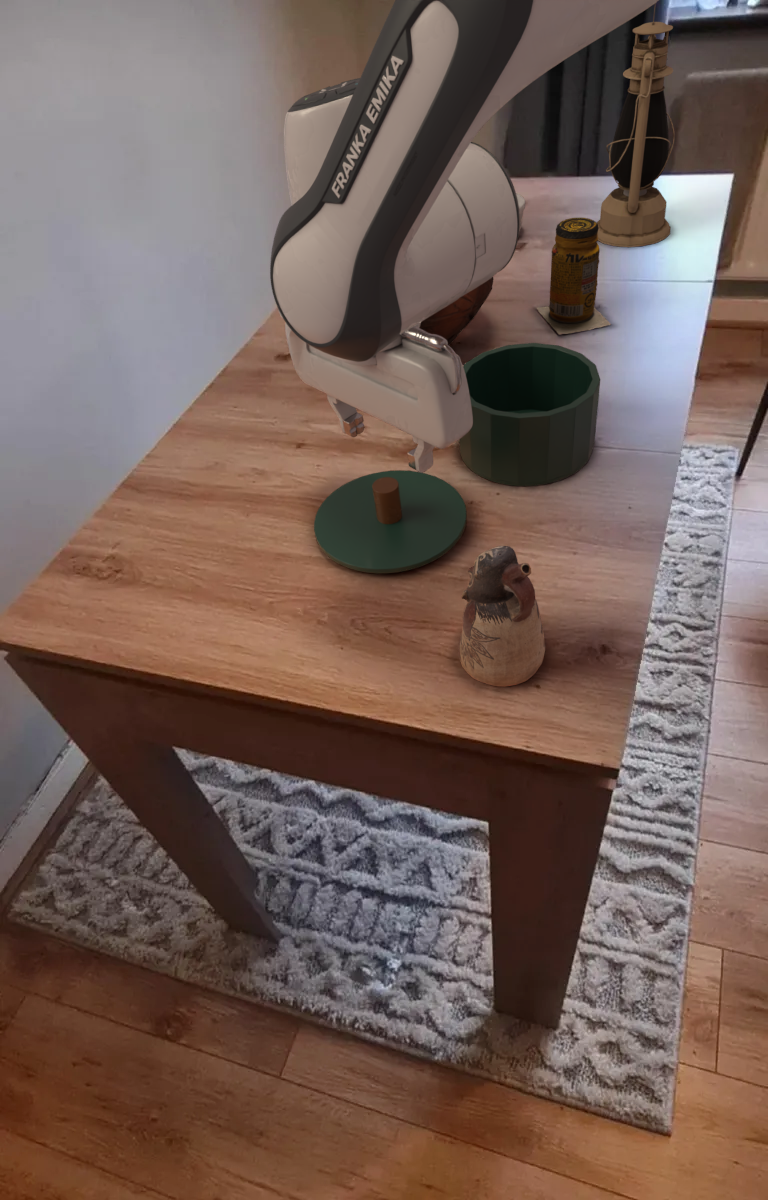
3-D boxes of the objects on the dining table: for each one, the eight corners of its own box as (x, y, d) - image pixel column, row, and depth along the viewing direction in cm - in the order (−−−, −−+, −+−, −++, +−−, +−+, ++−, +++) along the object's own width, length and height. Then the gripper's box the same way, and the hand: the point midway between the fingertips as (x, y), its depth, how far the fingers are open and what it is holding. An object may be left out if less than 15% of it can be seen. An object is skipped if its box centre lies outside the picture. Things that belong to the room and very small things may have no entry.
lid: (498, 517, 81) (498, 476, 77) (388, 602, 74) (382, 561, 70) (392, 461, 90) (387, 422, 86) (285, 532, 83) (275, 492, 79)
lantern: (596, 213, 132) (613, -11, 111) (671, 212, 129) (704, -18, 108) (587, 250, 123) (605, 12, 101) (668, 250, 120) (704, 5, 98)
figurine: (504, 613, 71) (504, 509, 63) (562, 658, 67) (570, 553, 59) (443, 653, 69) (434, 550, 60) (498, 703, 65) (497, 600, 56)
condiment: (586, 299, 112) (592, 210, 103) (611, 325, 106) (620, 233, 97) (536, 309, 111) (538, 220, 102) (558, 337, 105) (563, 244, 96)
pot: (619, 438, 88) (628, 369, 82) (535, 504, 82) (537, 434, 76) (517, 396, 96) (517, 330, 90) (433, 453, 90) (427, 386, 84)
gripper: (486, 327, 61) (491, 473, 71) (318, 268, 73) (342, 401, 82) (428, 361, 58) (442, 508, 68) (263, 295, 70) (295, 429, 80)
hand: (386, 449), depth 75 cm, fingers open, 8 cm apart
